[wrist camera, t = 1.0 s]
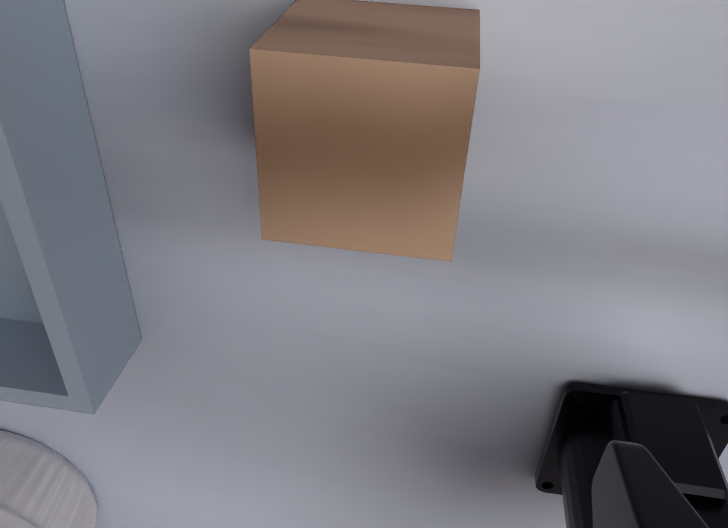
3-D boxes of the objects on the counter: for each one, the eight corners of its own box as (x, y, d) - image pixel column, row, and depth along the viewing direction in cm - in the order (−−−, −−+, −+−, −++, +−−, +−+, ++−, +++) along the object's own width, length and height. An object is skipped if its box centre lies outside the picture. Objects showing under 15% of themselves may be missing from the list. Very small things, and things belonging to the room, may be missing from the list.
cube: (456, 172, 20) (451, 261, 16) (304, 156, 21) (262, 239, 17) (479, 9, 17) (479, 68, 13) (301, -5, 18) (249, 48, 14)
